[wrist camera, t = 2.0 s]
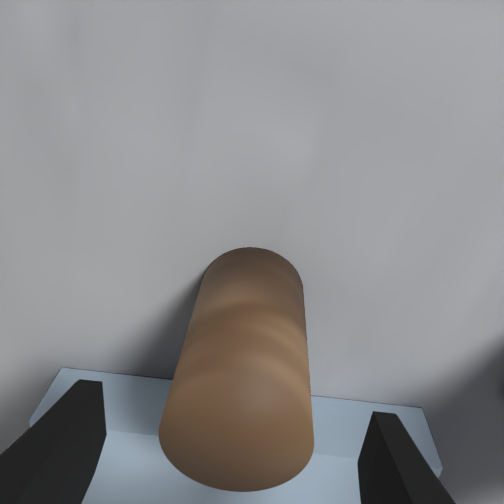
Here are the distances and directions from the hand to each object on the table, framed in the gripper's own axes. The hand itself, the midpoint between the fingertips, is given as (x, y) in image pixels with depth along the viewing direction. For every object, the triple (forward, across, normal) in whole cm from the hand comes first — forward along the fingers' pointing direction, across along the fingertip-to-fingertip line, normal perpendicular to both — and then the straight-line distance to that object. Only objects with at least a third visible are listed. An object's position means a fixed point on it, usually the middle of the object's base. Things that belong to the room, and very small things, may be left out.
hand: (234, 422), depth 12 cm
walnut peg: (+6, 0, 0) cm, 6 cm away
